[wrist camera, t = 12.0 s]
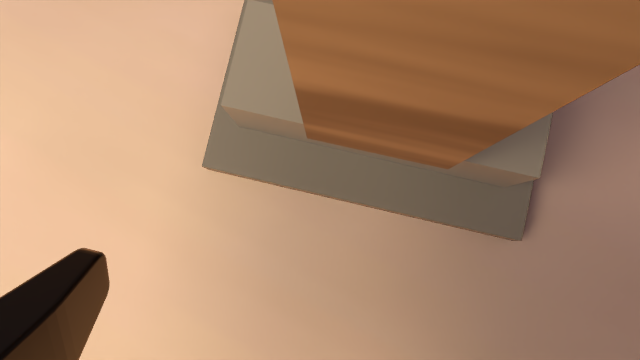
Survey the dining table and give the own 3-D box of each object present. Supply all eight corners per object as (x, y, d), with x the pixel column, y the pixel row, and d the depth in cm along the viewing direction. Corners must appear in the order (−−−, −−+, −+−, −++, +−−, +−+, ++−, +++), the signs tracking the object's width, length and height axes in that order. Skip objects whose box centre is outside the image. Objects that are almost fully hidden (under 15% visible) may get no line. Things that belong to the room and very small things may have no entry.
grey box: (548, 65, 22) (604, 21, 17) (512, 240, 21) (561, 242, 17) (251, 0, 22) (230, -60, 18) (207, 169, 22) (175, 152, 17)
